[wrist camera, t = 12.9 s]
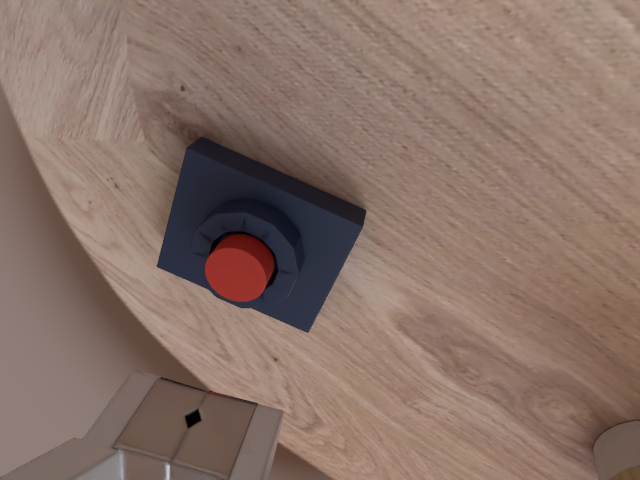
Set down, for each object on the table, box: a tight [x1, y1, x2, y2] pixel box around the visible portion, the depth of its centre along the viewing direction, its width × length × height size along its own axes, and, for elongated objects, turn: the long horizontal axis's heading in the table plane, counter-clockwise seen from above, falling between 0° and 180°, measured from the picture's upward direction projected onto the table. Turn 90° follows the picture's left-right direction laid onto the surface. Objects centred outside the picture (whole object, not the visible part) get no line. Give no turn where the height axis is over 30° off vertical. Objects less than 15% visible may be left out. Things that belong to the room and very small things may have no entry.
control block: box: [157, 137, 366, 333], centre depth 29 cm, size 11×9×4 cm
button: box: [205, 233, 274, 302], centre depth 27 cm, size 4×4×2 cm
